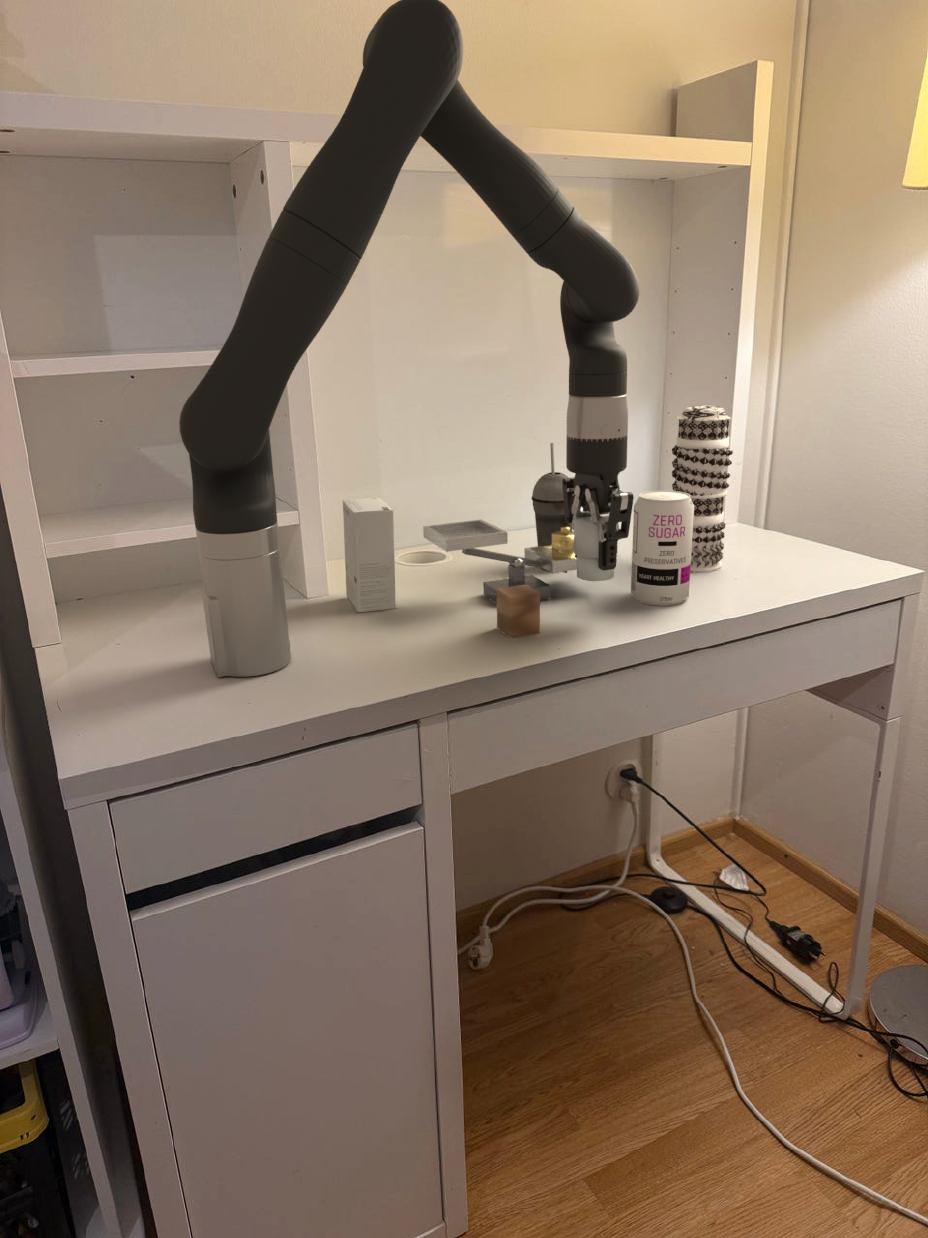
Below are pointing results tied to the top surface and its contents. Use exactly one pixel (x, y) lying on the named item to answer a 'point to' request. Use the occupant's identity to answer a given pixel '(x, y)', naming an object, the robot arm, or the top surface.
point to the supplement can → (662, 547)
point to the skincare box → (369, 554)
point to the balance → (486, 534)
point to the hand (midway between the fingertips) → (594, 563)
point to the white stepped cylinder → (588, 550)
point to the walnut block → (518, 611)
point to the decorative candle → (704, 479)
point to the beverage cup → (549, 505)
